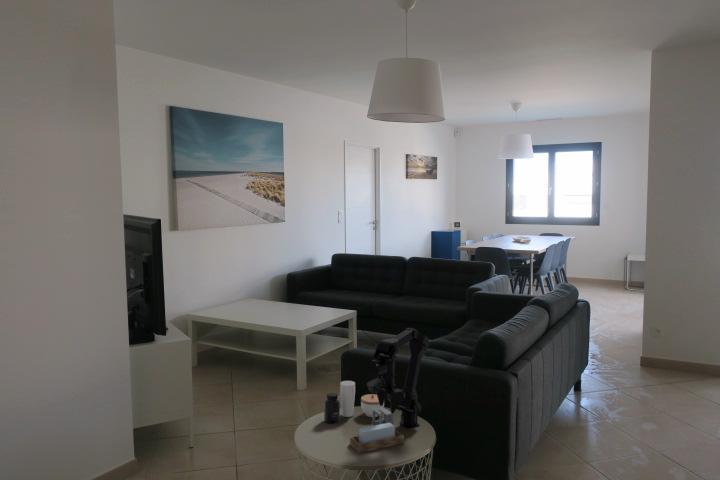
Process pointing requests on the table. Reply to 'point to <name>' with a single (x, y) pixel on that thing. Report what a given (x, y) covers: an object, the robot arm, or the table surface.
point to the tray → (376, 443)
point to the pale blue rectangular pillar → (376, 433)
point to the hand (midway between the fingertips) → (386, 409)
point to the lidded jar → (370, 404)
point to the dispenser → (387, 417)
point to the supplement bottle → (332, 409)
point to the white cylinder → (347, 397)
